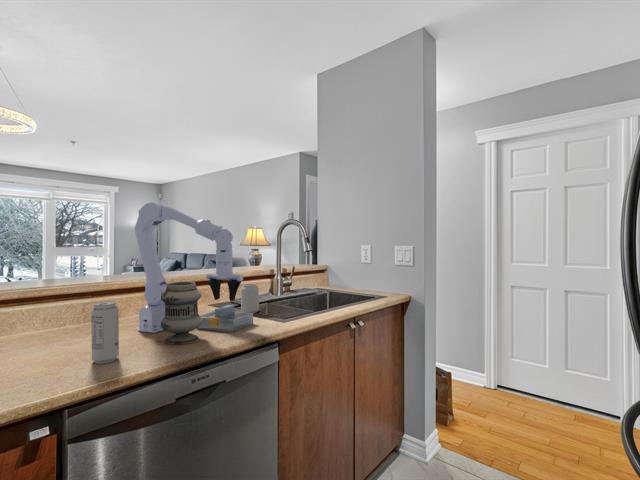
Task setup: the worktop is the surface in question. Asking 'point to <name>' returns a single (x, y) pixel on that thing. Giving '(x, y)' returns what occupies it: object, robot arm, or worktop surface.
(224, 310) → the block
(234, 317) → the rack
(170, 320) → the apothecary jar
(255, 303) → the can
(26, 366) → the worktop surface
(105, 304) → the energy drink can
